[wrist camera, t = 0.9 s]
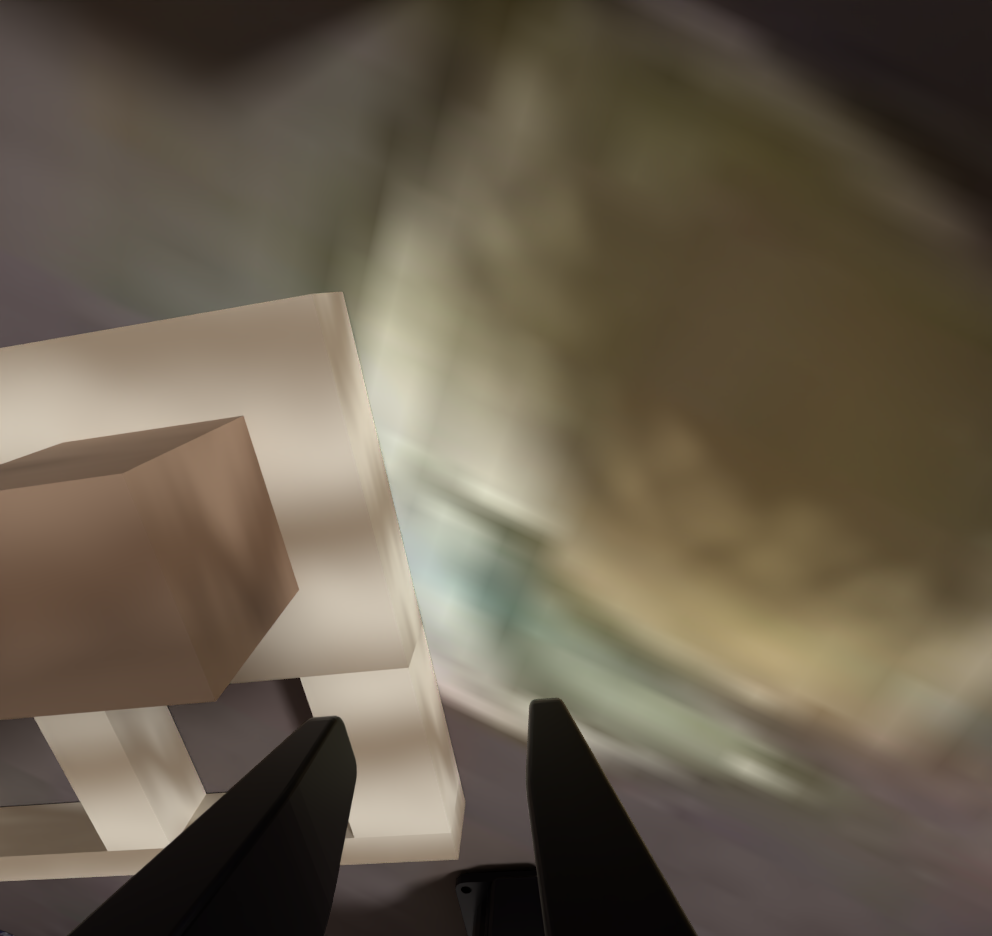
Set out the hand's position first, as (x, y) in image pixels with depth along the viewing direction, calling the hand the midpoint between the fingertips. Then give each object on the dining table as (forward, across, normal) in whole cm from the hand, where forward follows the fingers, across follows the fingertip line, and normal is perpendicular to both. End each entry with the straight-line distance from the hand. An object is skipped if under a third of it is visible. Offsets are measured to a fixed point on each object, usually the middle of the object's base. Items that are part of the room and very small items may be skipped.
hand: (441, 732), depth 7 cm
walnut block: (+10, +10, 0) cm, 14 cm away
